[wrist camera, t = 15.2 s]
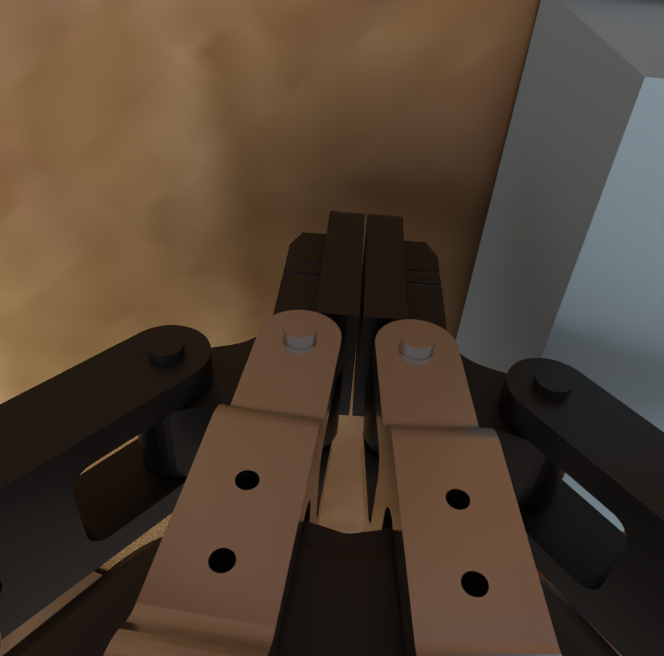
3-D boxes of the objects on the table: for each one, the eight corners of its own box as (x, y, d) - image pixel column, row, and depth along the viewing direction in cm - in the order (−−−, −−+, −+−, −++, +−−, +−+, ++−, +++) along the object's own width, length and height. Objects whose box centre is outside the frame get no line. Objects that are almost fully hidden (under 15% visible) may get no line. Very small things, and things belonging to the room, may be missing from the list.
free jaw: (554, 373, 18) (612, 556, 14) (449, 363, 18) (472, 543, 14) (701, 0, 12) (902, 99, 7) (544, -14, 12) (645, 77, 7)
